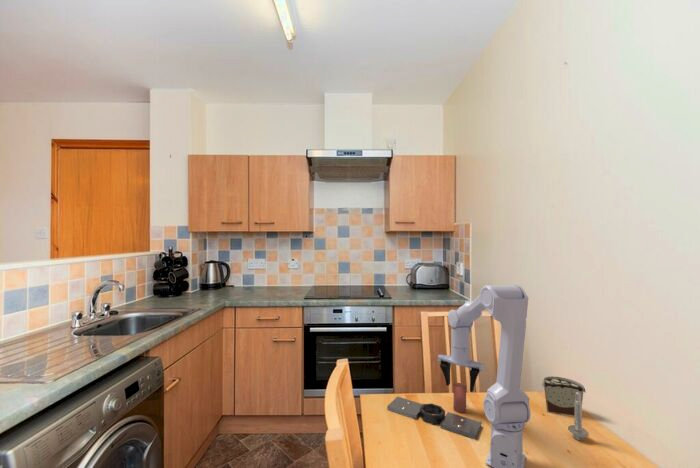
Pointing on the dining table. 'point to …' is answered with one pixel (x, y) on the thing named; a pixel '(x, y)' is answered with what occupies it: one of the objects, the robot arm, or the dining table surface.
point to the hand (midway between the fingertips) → (459, 387)
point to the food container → (561, 394)
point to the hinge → (436, 416)
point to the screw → (578, 420)
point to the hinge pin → (459, 398)
